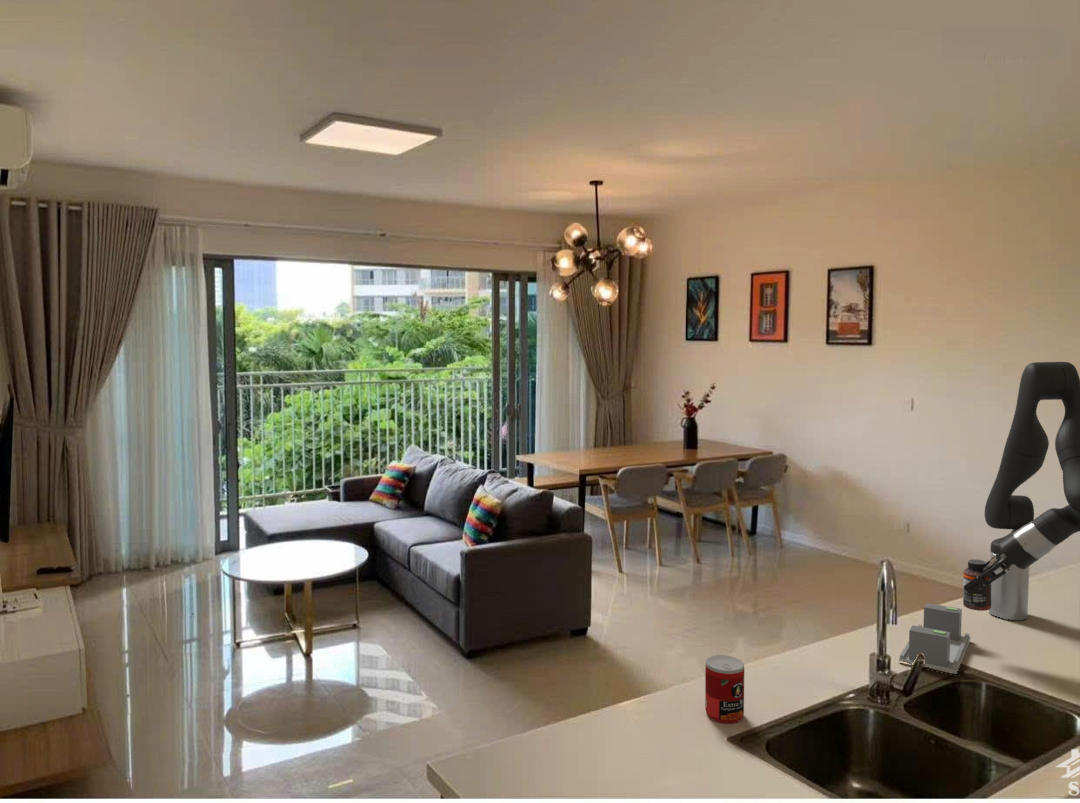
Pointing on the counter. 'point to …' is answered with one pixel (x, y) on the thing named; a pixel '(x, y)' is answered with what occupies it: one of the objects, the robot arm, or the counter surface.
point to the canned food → (724, 688)
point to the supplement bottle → (982, 595)
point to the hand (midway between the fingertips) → (968, 586)
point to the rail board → (938, 639)
